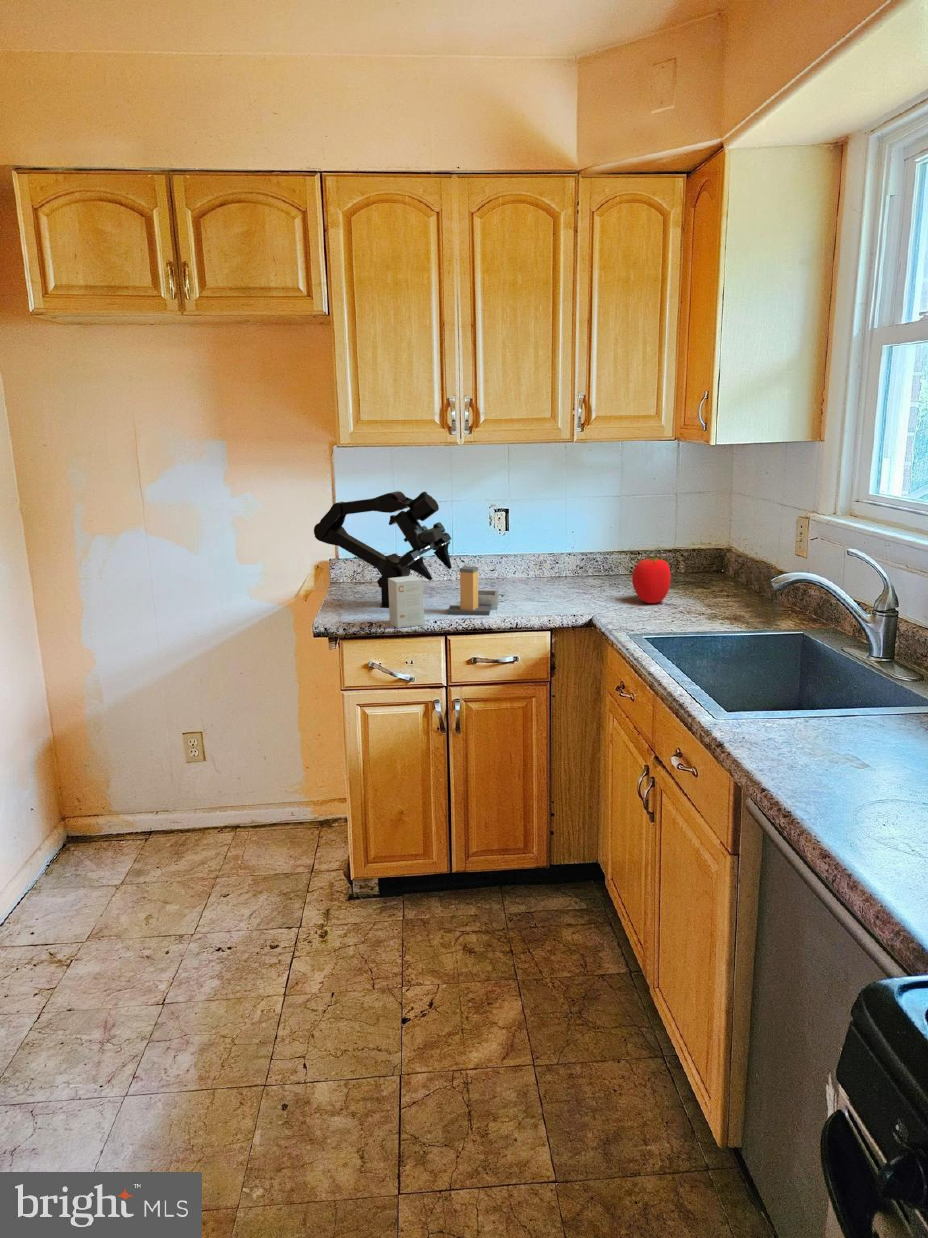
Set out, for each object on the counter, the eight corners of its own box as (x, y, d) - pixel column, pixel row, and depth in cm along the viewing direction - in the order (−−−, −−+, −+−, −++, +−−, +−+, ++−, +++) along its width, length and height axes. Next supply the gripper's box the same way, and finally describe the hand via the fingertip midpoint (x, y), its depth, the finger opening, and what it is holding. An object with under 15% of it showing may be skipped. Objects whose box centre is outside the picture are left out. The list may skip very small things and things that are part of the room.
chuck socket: (471, 608, 249) (471, 595, 248) (473, 602, 256) (473, 590, 255) (496, 609, 248) (496, 596, 247) (498, 603, 255) (498, 590, 254)
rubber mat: (447, 614, 242) (447, 610, 242) (450, 609, 248) (450, 605, 248) (489, 615, 241) (489, 611, 241) (490, 609, 247) (490, 606, 247)
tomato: (663, 608, 248) (666, 561, 244) (626, 604, 253) (628, 558, 249) (674, 599, 259) (676, 554, 255) (638, 596, 264) (640, 551, 260)
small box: (416, 620, 236) (415, 574, 233) (424, 625, 231) (423, 579, 227) (389, 623, 233) (387, 577, 230) (396, 628, 227) (395, 581, 224)
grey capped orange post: (459, 609, 243) (459, 568, 240) (465, 606, 247) (465, 566, 244) (473, 610, 242) (473, 569, 239) (478, 607, 246) (478, 567, 243)
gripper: (406, 527, 233) (436, 574, 233) (447, 506, 246) (476, 551, 246) (385, 544, 241) (415, 590, 241) (426, 524, 254) (454, 567, 254)
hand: (441, 574), depth 246 cm, fingers open, 9 cm apart
